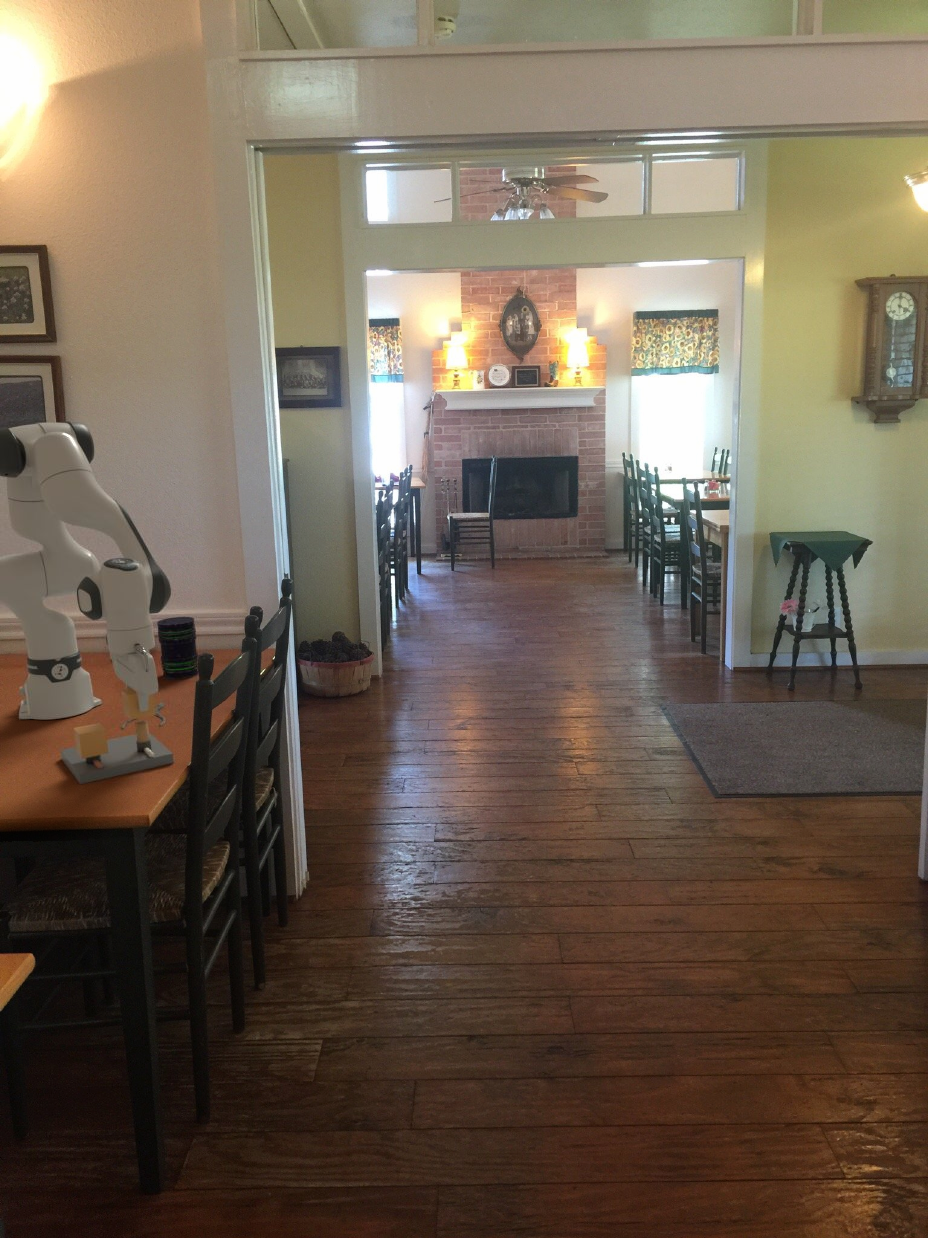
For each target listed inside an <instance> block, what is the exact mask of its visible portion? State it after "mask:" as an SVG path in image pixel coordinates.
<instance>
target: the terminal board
mask: <svg viewBox="0 0 928 1238" xmlns="http://www.w3.org/2000/svg"><path fill="white" fill-rule="evenodd" d="M148 724H149V723H148V720H145V719H141V720H137V721H135V722H134V725H135V734H134V733H133V734H129V735H125V736H120V737H115V738H110V739H107V730H106V728H105V727H104V725H102V724H101V722H96V723H91V724H86V725H83V726H77V727H73V735H74V741H75V746H71V747H68V748H67V747H66V748H63V749H60V757H61V760H62V762H63V763H64V764H65V765H66V767H67V768H68V769H69V771H70V772H71V774H72V775H73V776H74V777H75V779H76V780H77V782H78V783H79V784H80V785H83V784H87V783H90V782H91V783H92V782H97V781H100V780H106V779H109V778H114V777H118V775H119V776H122V775H127V774H133V773H135V772H140V771H144V770H148V769H149V770H150V769H153V768H158V767H162V766H163V767H164V766H167V765H170V764H174V755H173V754H174V753H173V752H172V751H171V750H169V749H168V748H167V747H166V746H165V745H164V744H163V743H162V742H160V741H159V740H158V739H157V738H156V737H155V736H154V735H153V734H151V733H150V731H149V725H148ZM105 778H106V779H105Z"/></svg>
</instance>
